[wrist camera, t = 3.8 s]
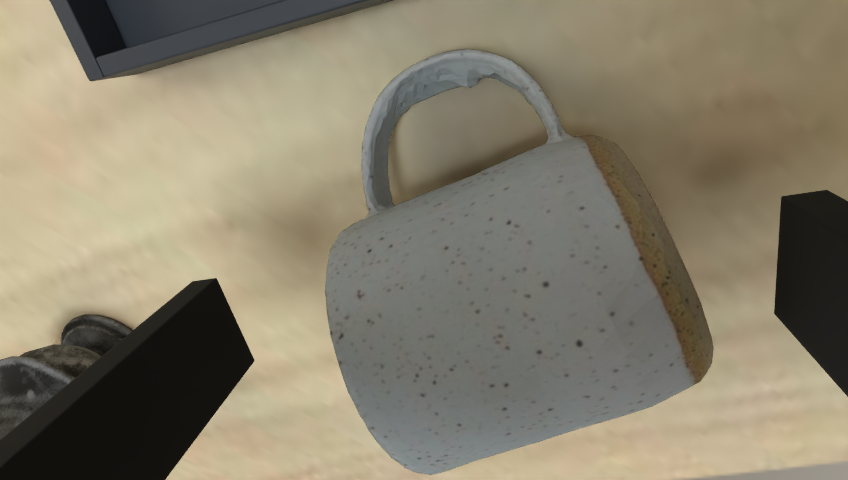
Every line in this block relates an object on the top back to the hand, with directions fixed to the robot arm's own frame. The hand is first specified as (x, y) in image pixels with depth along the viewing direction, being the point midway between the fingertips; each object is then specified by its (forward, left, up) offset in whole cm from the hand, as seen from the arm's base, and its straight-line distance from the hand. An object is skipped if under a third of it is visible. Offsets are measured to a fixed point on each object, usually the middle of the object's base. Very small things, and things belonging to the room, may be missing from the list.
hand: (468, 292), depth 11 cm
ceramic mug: (0, 0, -6) cm, 6 cm away
